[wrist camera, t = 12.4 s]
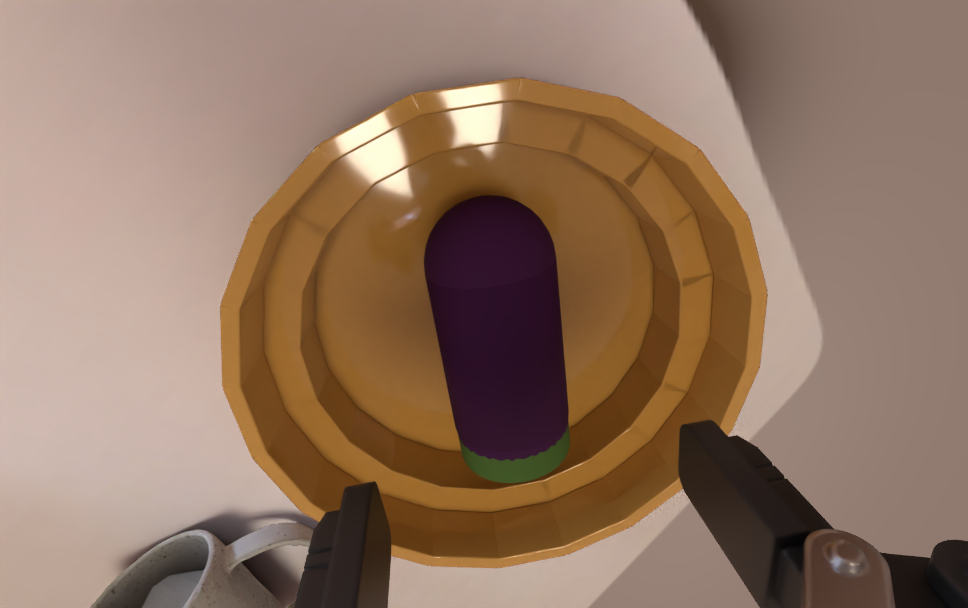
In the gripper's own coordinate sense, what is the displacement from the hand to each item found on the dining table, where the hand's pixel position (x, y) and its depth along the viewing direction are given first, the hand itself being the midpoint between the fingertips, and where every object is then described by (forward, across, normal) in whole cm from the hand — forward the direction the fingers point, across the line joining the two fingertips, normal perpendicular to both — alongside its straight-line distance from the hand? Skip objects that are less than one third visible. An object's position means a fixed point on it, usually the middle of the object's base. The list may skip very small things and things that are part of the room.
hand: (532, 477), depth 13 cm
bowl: (+11, 0, 0) cm, 11 cm away
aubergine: (+10, 0, 0) cm, 10 cm away
